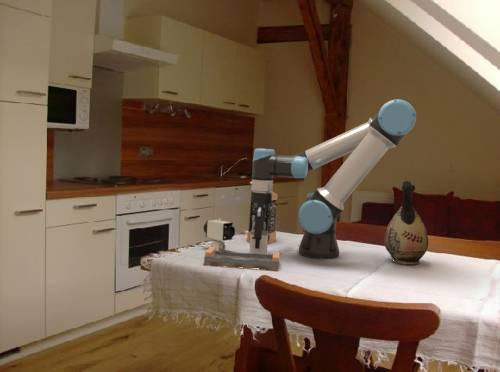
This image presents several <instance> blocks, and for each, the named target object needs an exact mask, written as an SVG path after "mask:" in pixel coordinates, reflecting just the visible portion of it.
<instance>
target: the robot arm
mask: <svg viewBox="0 0 500 372" xmlns="http://www.w3.org/2000/svg"><path fill="white" fill-rule="evenodd" d="M416 123H417V112H416V110H415V108H414V106H413V105H411V103H409V102H408V101H406V100H403V99H400V98H398V99H397V98H396V99H391V100H389V101H387V102H385V103H384V104H383V105H382V106H381V107H380V110H379V111H378V113H376V114H375V115H372V116H370V117H369V118H368V121H367V122H364V123H362V124H360V125H357V126H356V127H353V128H352V129H350V130H347V131H346V132H342V133H341V134H339V135H336V136H335V137H332V138H330V139H328V140H325V141H324V142H323V141H322V142H321V143H320V144H317V145H314V146H313V147H311V148H309V149H307V150H304V151H302V152H300V153H298V154H295V155H280V154H276V151H275V150H274V148H273V149H272V148H260V147H259V148H255V149H254V150H253V159H252V174H251V181H250V182H249V184H250V185H251V192H250V194H251V199H250V203H251V202H253V203H257V207H255V230H254V237H252V239H254V248H253V254H261V244H262V230H264V219H265V213H266V208H265V206H264V204H269V203H271V202H272V194H271V191H273V188H274V177H282V178H283V177H285V178H294V179H305V178H306V177H307V176H308V172H311V171H312V170H315V169H317V168H319V167H321V166H324V165H326V164H328V163H330V162H332V161H334V160H337V159H339V158H342V157H343V156H346V155H349V156H348V157H347V158H346V159H345V161H344V162H343V164H342V165H341V166H340V167H339V168H338V169H337V170H336V172H334V174H333V175H332V177H331V178H330V179H329V181H327V183H326V184H325V185H324V186H323V187H317V188H316V189H315V190H314V192H309V193H307V195H306V198H305V201H306V202H304V203H302V205H301V206H300V208H299V210H298V215H297V216H298V217H297V218H298V222H299V225H300V227H301V228H302V229H303V230H304V231H303V232H304V233H303V236H302V238H301V240H300V244H299V246H298V252H297V253H298V254H299V255H300V256H303V257H307V258H312V259H313V258H314V259H322V260H326V259H329V260H330V259H336V258H339V257H340V249H339V244H338V240H337V235H336V232H337V231H336V230H337V218H338V217H339V216H340V215H341V214H342V212H343V211H344V210H345V208H344V203H345V202H346V200H347V199H348V198H349V197H350V196H351V194H352V193H353V192H354V191H355V190H356V189H357V187H358V186H359V185H360V184H361V183H362V181H363V180H364V179H365V178H366V177H367V175H369V173H370V172H371V171H372V169H373V168H374V167H375V166H376V165H377V163H378V162H380V160H381V159H382V157H383V156H384V155H385V154H386V153H387V151H388V150H389V149H392V148H396V147H397V146H399V144H400V143H402V140H404V138H405V137H406V136H407V135H408V133H409V132H411V131H412V130H413V128H414V127H415V126H416Z"/></svg>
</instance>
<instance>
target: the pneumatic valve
mask: <svg viewBox="0 0 500 372" xmlns="http://www.w3.org/2000/svg"><path fill="white" fill-rule="evenodd" d="M203 232H204V233H205V238H209V239H212V240H213V241H211V243H210V247H216V250H215V251H224V252H225V249H226V242H225V241H230V240H232V239H233V238H234V236H235V233H236V229H235V227H234V222H233V221H232V222H231V221H225V220H222V218H220V217H219V218H218V219H209V220H206V222H205V223H204V225H203Z"/></svg>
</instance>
